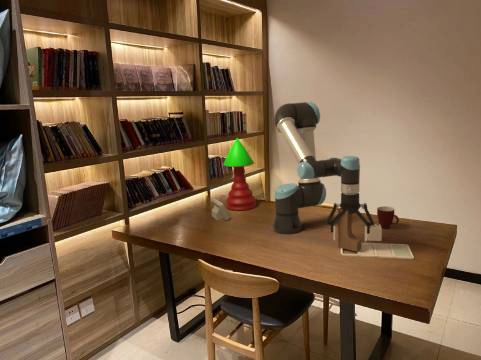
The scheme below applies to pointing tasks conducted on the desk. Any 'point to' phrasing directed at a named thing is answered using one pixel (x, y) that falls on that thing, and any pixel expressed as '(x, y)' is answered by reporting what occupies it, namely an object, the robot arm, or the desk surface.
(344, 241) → the wooden block
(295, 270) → the desk surface
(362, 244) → the track board
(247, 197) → the table lamp
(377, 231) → the die
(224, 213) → the grey lumpy piece
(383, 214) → the mug
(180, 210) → the desk surface
